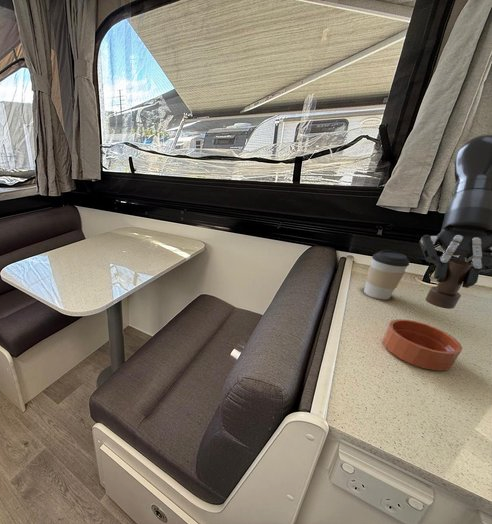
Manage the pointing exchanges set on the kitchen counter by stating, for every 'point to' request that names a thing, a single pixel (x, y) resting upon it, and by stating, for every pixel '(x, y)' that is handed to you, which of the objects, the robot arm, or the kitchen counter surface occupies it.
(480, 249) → the robot arm
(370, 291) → the coffee cup
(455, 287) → the pepper mill
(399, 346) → the bowl
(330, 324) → the kitchen counter surface
